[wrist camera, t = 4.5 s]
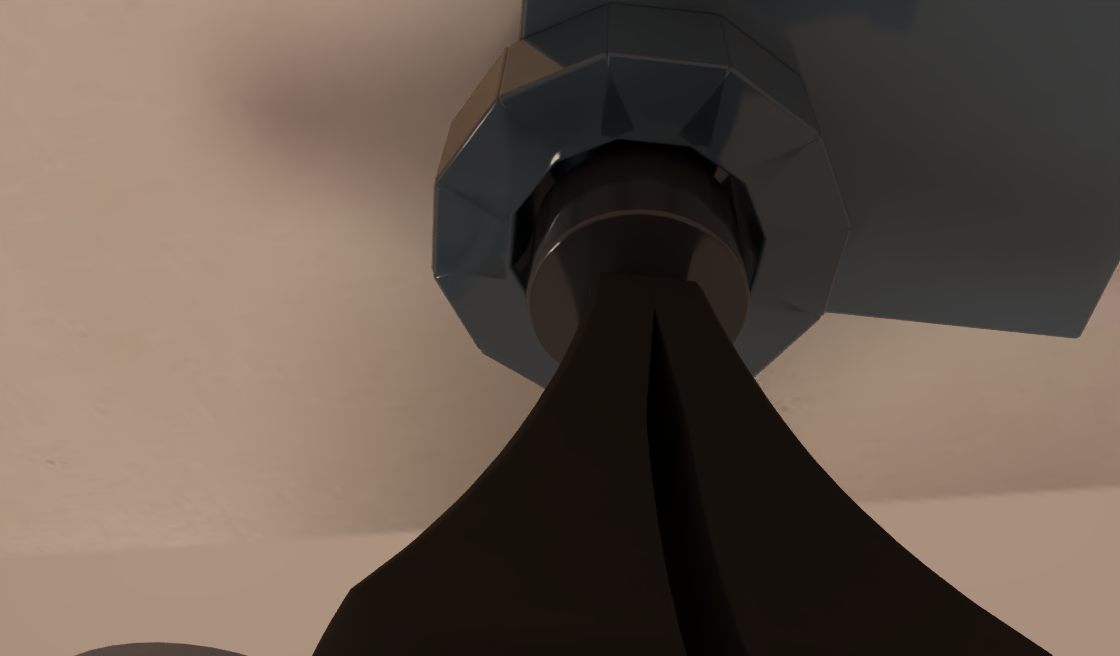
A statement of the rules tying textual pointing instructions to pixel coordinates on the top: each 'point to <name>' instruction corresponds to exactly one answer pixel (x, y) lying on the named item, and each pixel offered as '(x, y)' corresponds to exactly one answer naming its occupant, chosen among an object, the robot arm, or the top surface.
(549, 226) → the dark brown short cylinder
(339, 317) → the top surface
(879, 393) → the top surface
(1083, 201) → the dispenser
